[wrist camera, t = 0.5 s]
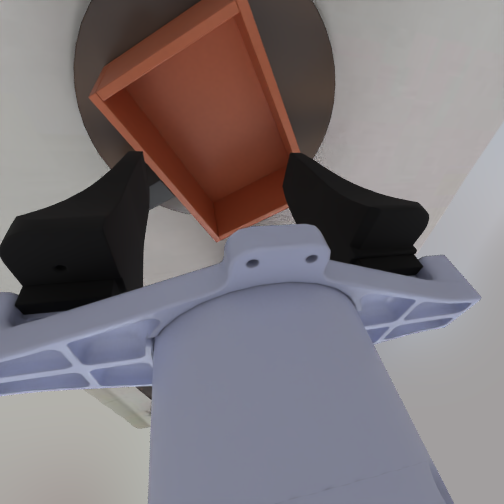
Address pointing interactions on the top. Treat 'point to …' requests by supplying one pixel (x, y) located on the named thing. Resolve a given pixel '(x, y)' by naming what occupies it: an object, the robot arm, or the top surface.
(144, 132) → the bin
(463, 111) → the top surface
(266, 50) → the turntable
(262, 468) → the robot arm
